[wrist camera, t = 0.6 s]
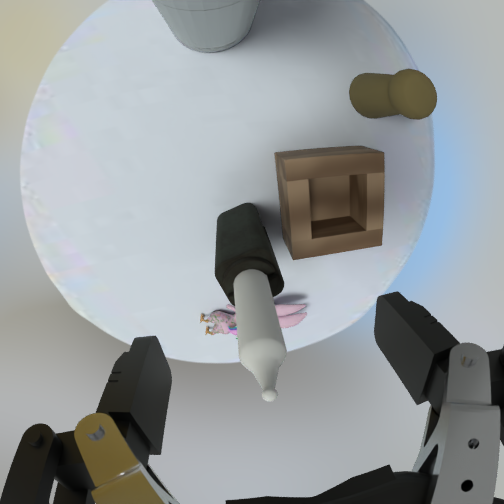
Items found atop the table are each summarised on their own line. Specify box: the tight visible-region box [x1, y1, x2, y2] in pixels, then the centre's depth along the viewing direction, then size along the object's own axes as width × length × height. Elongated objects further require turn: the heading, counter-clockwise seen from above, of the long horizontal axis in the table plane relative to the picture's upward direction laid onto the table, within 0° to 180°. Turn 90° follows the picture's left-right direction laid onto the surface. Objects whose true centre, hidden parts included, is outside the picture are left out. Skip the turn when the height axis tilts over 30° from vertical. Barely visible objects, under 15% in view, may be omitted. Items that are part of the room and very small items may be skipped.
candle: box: [215, 203, 286, 402], centre depth 25 cm, size 5×5×25 cm
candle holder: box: [275, 146, 384, 260], centre depth 33 cm, size 11×11×6 cm
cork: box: [349, 69, 437, 119], centre depth 25 cm, size 6×6×11 cm
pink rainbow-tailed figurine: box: [200, 304, 307, 339], centre depth 40 cm, size 6×6×15 cm
